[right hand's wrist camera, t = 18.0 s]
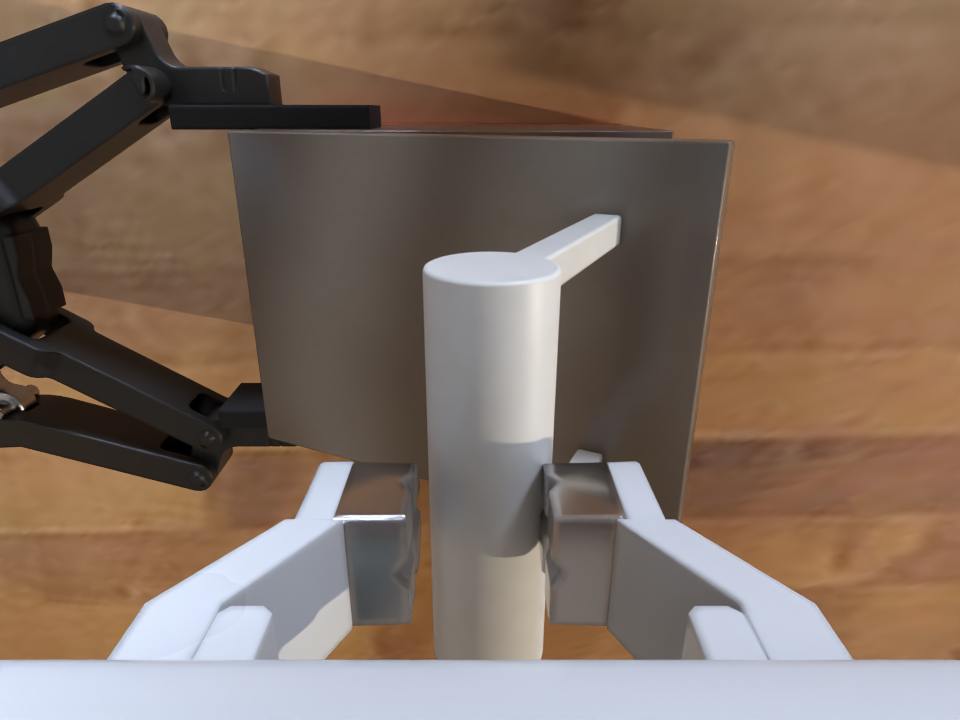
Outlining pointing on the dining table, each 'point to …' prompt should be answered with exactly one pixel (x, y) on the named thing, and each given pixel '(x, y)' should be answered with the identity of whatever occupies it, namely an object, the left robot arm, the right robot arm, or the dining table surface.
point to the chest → (512, 130)
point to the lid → (484, 328)
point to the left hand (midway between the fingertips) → (383, 272)
